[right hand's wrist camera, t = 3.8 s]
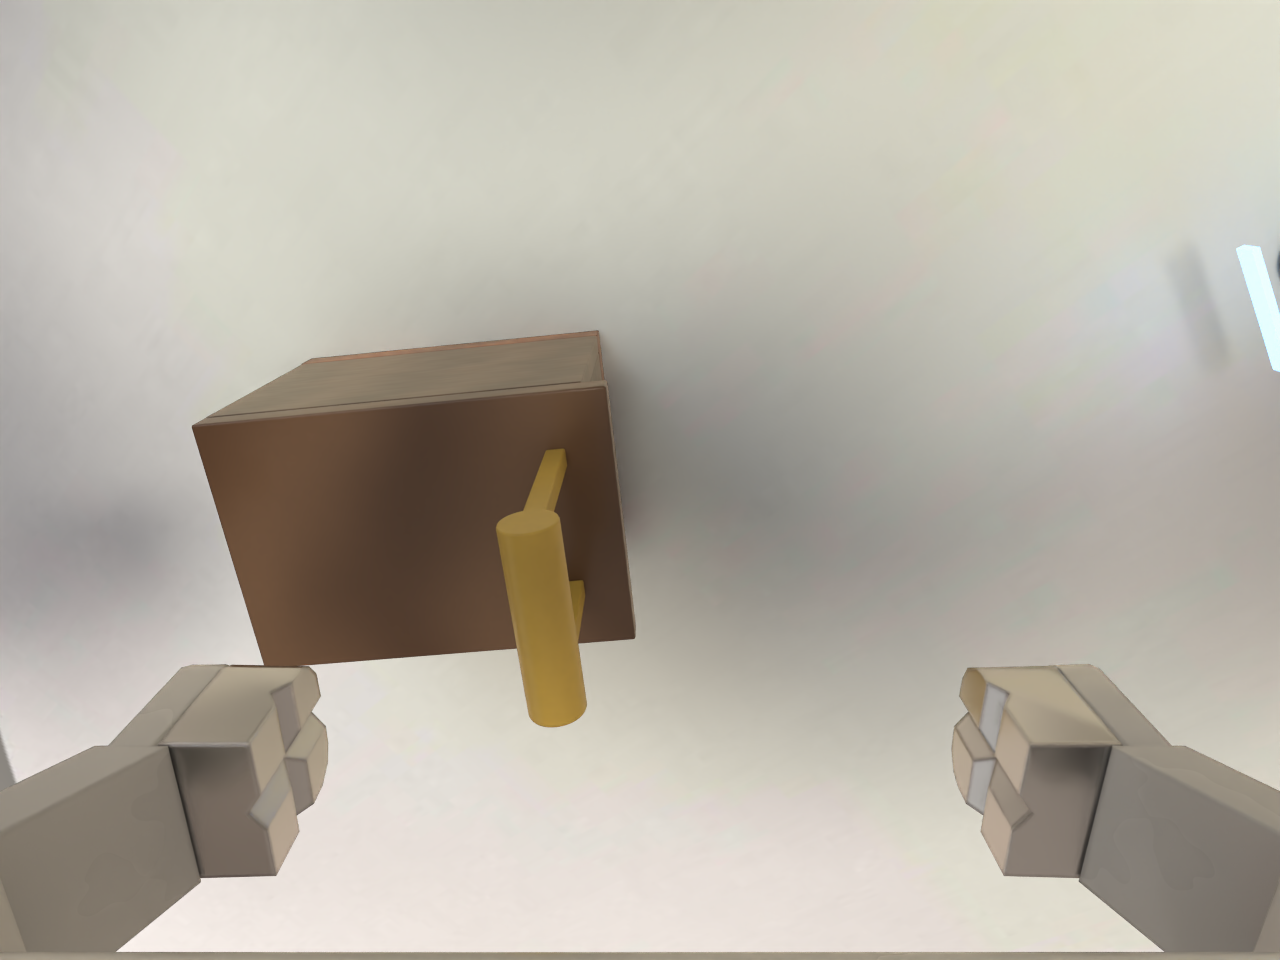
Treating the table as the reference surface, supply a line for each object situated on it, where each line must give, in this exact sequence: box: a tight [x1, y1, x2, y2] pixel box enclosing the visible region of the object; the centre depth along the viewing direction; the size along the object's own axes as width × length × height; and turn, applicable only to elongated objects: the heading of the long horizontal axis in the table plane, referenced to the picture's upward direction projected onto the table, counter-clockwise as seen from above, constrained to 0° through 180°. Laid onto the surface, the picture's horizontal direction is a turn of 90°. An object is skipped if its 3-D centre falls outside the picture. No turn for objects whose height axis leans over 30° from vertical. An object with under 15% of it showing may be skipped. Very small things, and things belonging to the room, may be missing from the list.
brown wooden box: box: [207, 331, 604, 418], centre depth 36 cm, size 14×10×10 cm
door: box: [192, 380, 636, 727], centre depth 27 cm, size 15×10×9 cm
